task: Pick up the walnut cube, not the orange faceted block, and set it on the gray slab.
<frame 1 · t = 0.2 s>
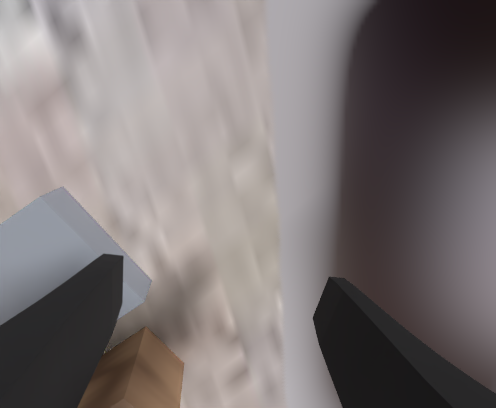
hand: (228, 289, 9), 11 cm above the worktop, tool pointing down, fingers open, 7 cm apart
gray slab: (63, 268, 20), on the worktop
walnut cube: (141, 360, 23), on the worktop
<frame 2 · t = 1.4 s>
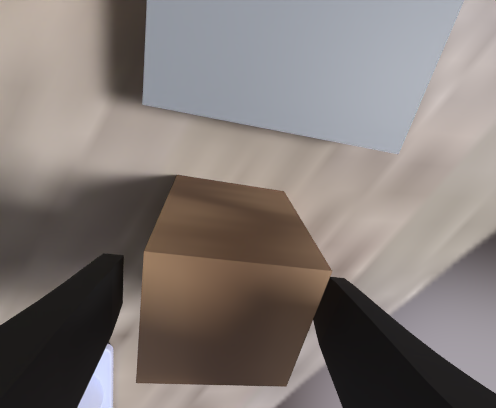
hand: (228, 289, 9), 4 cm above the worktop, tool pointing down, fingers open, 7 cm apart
walnut cube: (223, 229, 13), on the worktop
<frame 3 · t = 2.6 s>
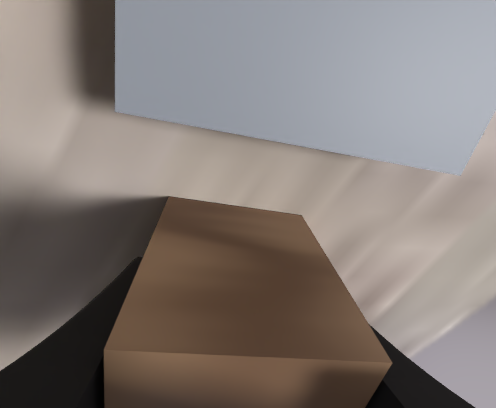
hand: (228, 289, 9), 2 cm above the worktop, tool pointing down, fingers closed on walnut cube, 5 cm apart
walnut cube: (226, 261, 11), on the worktop, touching gripper
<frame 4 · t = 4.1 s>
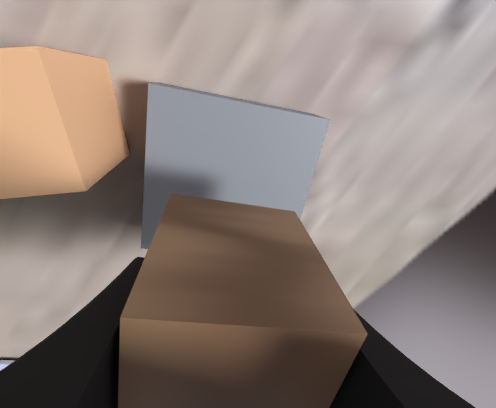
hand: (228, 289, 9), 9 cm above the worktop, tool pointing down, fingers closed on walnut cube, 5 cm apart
gray slab: (227, 171, 18), on the worktop
orange faceted block: (72, 113, 15), on the worktop
walnut cube: (225, 254, 12), point 7 cm above the worktop, touching gripper
when the fingers open (6 cm above the worktop, at t = 5.7 s): walnut cube stays where it is, point 2 cm above the worktop.
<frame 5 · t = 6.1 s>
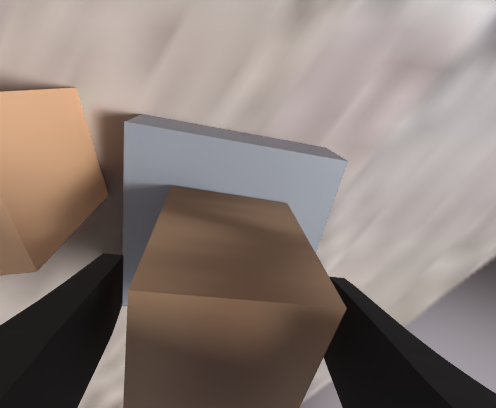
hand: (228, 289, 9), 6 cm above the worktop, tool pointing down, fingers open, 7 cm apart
gray slab: (224, 210, 15), on the worktop
orange faceted block: (37, 150, 12), on the worktop
walnut cube: (221, 243, 12), point 2 cm above the worktop
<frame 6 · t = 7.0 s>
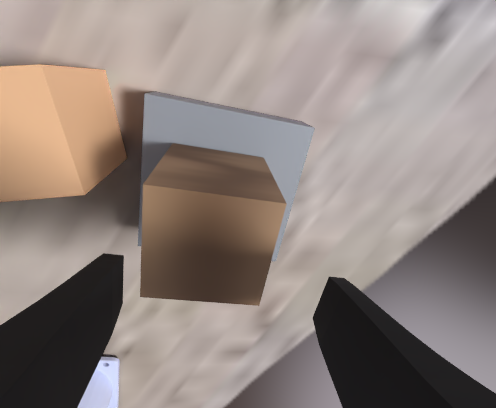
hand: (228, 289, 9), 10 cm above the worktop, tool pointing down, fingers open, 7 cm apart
gray slab: (220, 174, 19), on the worktop, touching walnut cube
orange faceted block: (73, 119, 16), on the worktop
walnut cube: (213, 192, 16), point 2 cm above the worktop, touching gray slab
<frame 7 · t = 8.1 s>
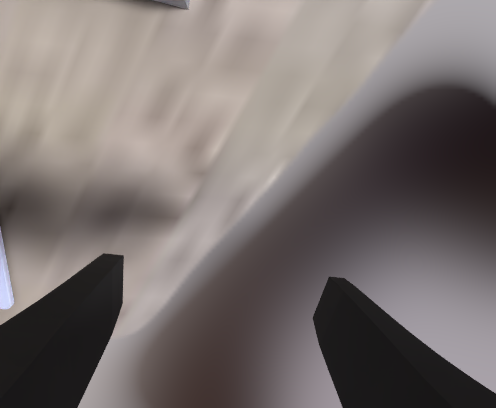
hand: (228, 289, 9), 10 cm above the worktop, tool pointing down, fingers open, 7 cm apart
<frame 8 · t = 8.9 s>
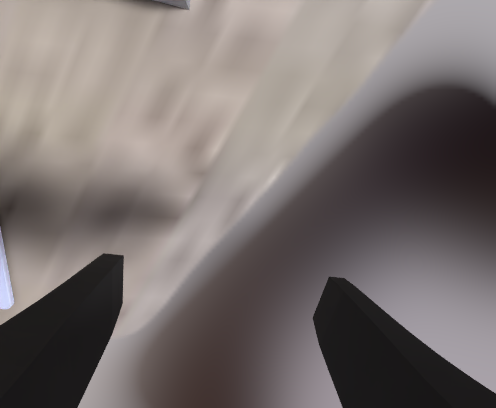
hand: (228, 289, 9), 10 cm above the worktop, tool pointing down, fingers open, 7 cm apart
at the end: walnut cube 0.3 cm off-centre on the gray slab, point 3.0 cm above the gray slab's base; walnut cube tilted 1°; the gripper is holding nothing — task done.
